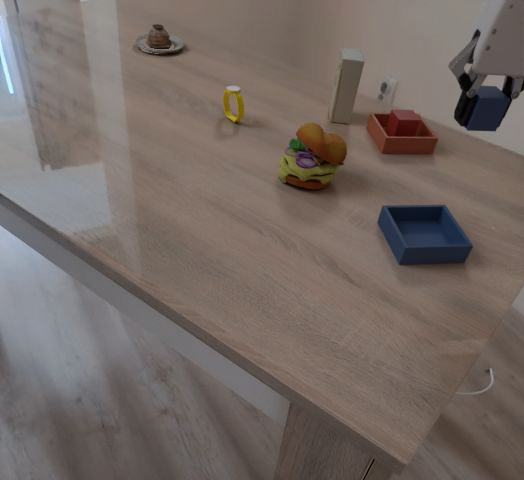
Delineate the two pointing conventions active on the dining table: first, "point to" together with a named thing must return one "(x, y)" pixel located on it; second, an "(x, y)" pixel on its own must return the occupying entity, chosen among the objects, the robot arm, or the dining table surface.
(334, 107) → the cosmetic box
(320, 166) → the cheeseburger
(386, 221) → the blue tray
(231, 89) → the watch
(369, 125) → the terracotta tray
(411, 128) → the red block
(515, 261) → the dining table surface
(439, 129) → the dining table surface
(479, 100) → the blue block
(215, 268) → the dining table surface
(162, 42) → the pastry
